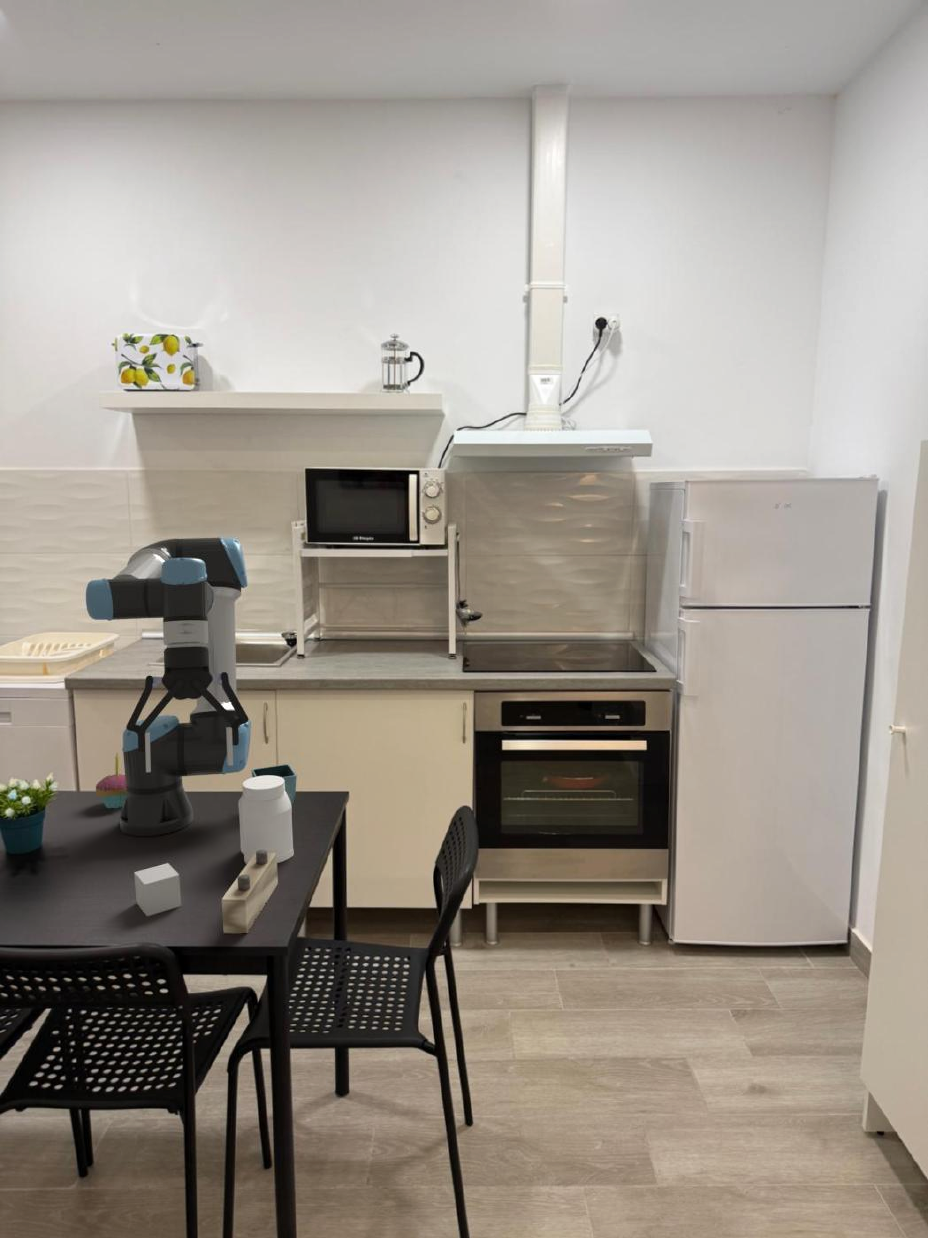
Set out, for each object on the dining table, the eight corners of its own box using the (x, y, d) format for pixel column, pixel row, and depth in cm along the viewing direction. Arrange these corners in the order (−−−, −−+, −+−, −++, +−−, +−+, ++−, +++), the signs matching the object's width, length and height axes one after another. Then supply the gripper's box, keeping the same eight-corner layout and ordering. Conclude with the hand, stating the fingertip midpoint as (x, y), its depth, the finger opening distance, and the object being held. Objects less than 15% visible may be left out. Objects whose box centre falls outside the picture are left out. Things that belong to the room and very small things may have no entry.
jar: (239, 846, 177) (235, 776, 175) (285, 838, 181) (282, 770, 178) (246, 869, 167) (242, 795, 164) (296, 860, 170) (293, 788, 168)
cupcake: (107, 798, 205) (103, 750, 203) (142, 798, 204) (138, 749, 203) (90, 812, 196) (86, 761, 194) (127, 812, 196) (123, 761, 194)
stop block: (223, 933, 143) (220, 888, 142) (256, 883, 161) (254, 842, 159) (247, 933, 143) (244, 888, 141) (277, 883, 160) (275, 843, 159)
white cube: (136, 903, 154) (134, 872, 153) (170, 894, 157) (167, 863, 156) (147, 917, 149) (144, 884, 148) (181, 906, 152) (179, 874, 151)
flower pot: (259, 819, 191) (257, 781, 189) (252, 806, 199) (250, 769, 197) (298, 813, 194) (297, 775, 193) (290, 800, 202) (288, 763, 201)
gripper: (108, 648, 143) (111, 776, 142) (261, 642, 152) (265, 763, 150) (110, 650, 150) (113, 772, 149) (256, 644, 159) (260, 760, 157)
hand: (190, 768), depth 149 cm, fingers open, 13 cm apart
